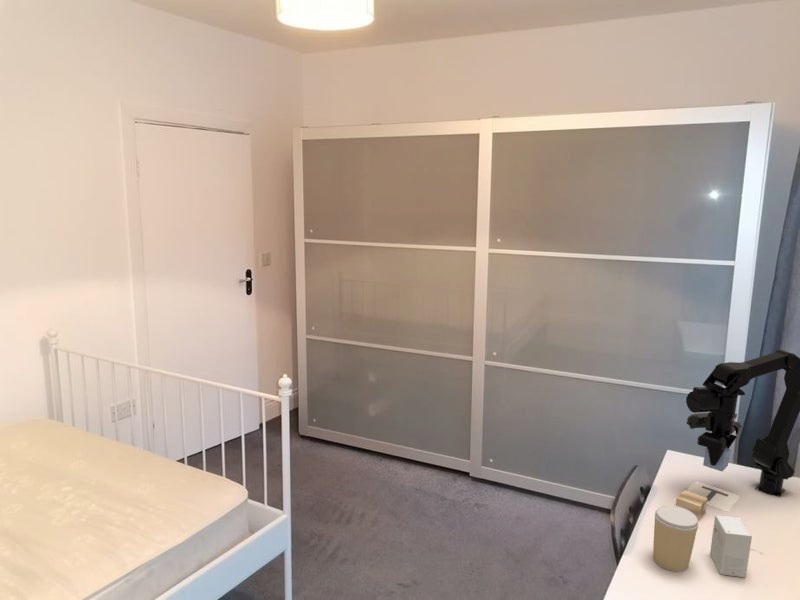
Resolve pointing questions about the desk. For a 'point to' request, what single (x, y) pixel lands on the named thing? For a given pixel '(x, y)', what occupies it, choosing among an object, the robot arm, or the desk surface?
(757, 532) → the desk surface
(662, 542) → the coffee cup
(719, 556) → the small box
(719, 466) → the slate blue cube
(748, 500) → the desk surface
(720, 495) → the board
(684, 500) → the light oak block
